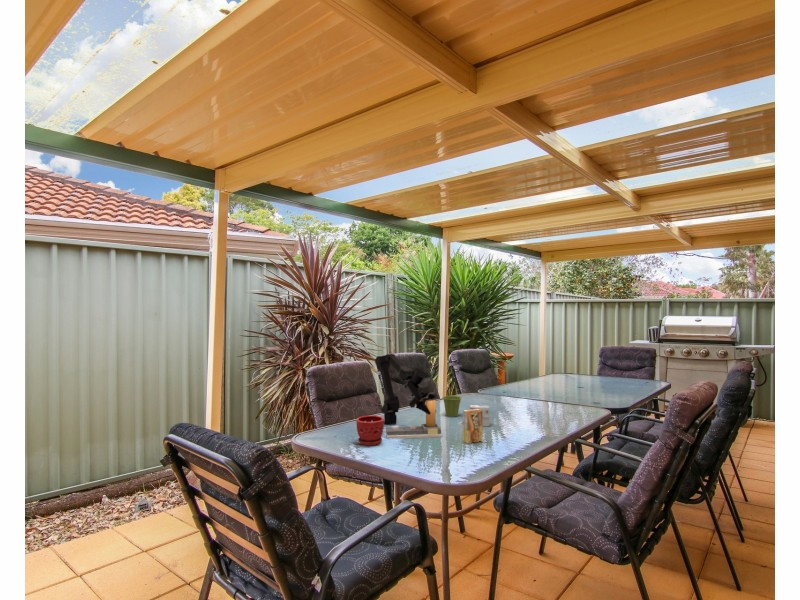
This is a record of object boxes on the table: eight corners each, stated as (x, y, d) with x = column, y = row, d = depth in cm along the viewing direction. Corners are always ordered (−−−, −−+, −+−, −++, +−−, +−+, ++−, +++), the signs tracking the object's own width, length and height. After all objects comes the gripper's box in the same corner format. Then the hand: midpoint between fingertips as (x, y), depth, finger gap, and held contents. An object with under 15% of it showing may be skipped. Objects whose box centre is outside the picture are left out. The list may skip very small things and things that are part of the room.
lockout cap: (426, 426, 232) (426, 400, 233) (425, 424, 237) (425, 399, 238) (436, 426, 233) (436, 400, 233) (434, 424, 238) (434, 398, 238)
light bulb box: (488, 424, 258) (488, 404, 258) (490, 426, 251) (489, 407, 252) (469, 423, 259) (469, 404, 259) (470, 426, 252) (470, 406, 253)
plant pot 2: (441, 417, 275) (441, 398, 275) (443, 413, 287) (443, 395, 287) (461, 418, 273) (461, 399, 273) (462, 414, 285) (461, 395, 285)
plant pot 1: (352, 442, 221) (352, 417, 221) (376, 438, 227) (376, 414, 228) (363, 448, 209) (363, 422, 210) (388, 444, 216) (388, 419, 217)
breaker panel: (387, 438, 226) (387, 429, 226) (385, 432, 238) (385, 424, 238) (442, 437, 229) (442, 428, 229) (437, 431, 241) (437, 422, 241)
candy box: (477, 439, 225) (477, 408, 225) (483, 441, 221) (482, 409, 221) (462, 441, 221) (462, 409, 221) (467, 443, 217) (467, 411, 218)
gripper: (413, 381, 231) (431, 406, 224) (434, 377, 246) (451, 400, 238) (401, 395, 236) (418, 419, 228) (422, 390, 250) (439, 413, 243)
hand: (432, 413), depth 234 cm, fingers closed on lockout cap, 5 cm apart
